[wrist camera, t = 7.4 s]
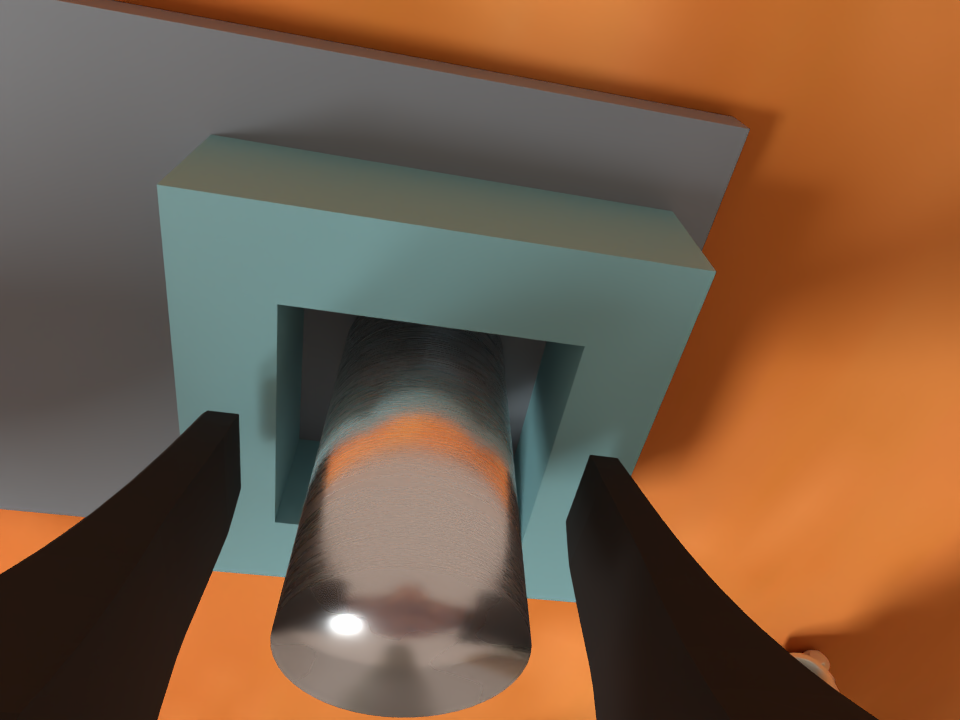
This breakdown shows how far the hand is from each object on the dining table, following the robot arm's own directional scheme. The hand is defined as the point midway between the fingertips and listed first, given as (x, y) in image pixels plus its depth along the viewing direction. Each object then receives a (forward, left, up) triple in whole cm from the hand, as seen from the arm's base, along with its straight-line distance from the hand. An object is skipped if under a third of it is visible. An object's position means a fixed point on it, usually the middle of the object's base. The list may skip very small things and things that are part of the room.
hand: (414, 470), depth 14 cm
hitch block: (-3, 0, -5) cm, 6 cm away
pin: (0, 0, -4) cm, 4 cm away
